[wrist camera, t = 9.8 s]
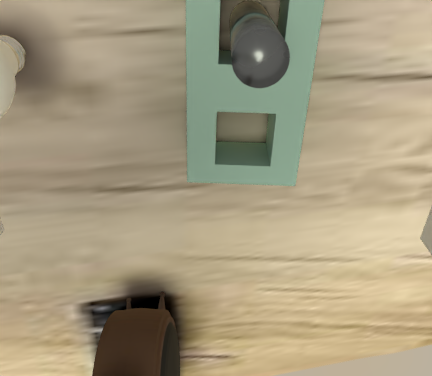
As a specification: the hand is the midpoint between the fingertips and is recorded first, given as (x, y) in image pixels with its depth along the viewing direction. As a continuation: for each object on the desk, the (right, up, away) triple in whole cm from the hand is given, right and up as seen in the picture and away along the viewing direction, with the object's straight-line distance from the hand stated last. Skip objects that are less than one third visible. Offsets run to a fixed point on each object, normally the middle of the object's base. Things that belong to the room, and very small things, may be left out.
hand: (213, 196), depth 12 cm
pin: (+3, +13, +19) cm, 23 cm away
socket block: (+2, +10, +21) cm, 23 cm away
